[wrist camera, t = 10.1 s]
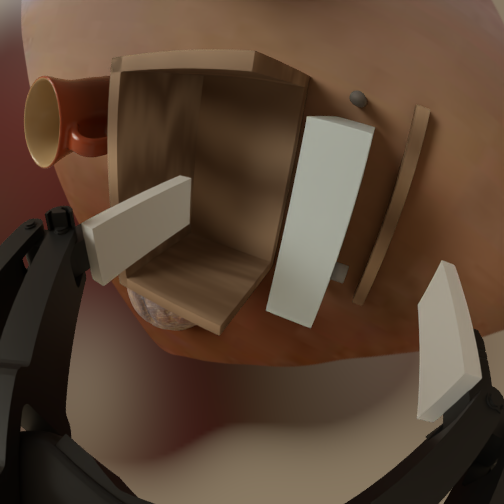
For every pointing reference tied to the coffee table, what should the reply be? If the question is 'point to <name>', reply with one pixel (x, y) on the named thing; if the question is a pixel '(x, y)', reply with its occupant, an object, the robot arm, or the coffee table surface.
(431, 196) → the coffee table surface
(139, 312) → the decorative stone
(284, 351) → the coffee table surface
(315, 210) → the door
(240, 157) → the cabinet
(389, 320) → the coffee table surface
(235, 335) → the coffee table surface
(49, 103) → the mug
